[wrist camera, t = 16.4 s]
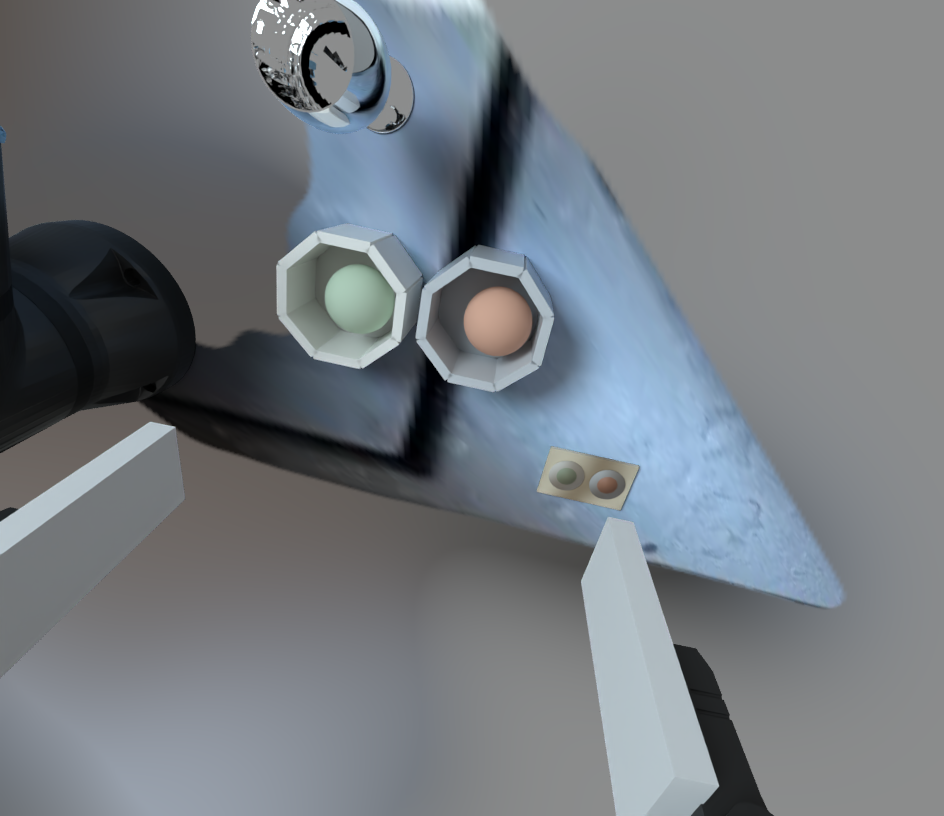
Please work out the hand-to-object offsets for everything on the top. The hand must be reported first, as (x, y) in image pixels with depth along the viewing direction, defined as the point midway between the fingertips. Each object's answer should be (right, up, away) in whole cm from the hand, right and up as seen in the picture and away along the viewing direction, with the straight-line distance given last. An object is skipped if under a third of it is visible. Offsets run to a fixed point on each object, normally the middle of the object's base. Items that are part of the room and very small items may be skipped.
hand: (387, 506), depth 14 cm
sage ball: (-6, +12, +22) cm, 26 cm away
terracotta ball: (+4, +11, +21) cm, 24 cm away
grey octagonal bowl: (+4, +11, +22) cm, 25 cm away
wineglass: (-4, +24, +17) cm, 30 cm away
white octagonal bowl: (-6, +13, +23) cm, 26 cm away
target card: (+13, -3, +28) cm, 31 cm away
